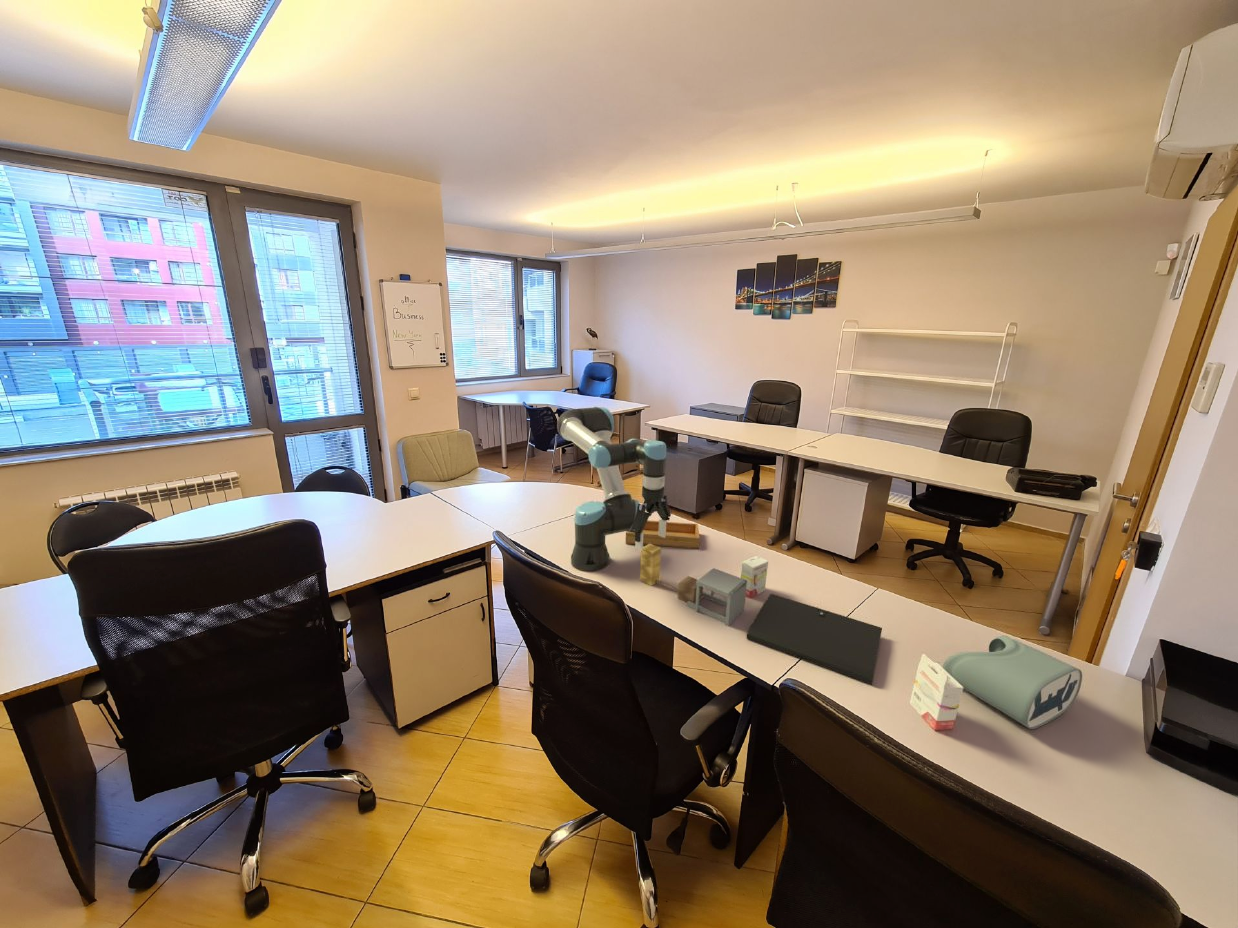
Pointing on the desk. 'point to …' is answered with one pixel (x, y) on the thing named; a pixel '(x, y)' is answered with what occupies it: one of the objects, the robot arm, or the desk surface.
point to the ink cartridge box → (936, 695)
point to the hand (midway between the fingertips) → (650, 542)
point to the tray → (668, 535)
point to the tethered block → (652, 574)
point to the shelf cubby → (725, 586)
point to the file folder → (818, 636)
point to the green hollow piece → (1017, 680)
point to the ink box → (754, 575)
